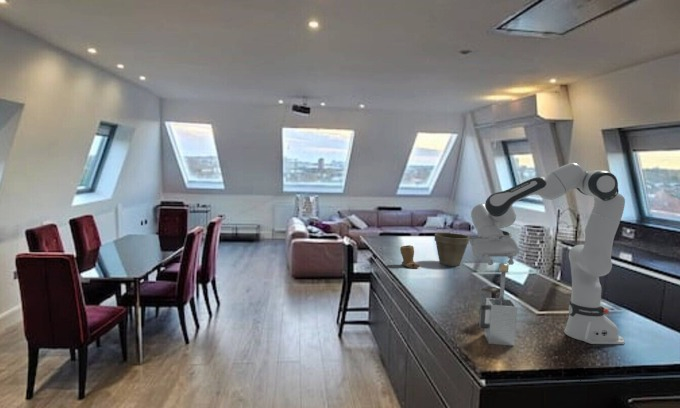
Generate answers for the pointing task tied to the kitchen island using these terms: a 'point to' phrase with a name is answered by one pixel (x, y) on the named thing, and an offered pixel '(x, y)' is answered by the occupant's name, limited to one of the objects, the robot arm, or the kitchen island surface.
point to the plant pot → (451, 247)
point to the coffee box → (488, 295)
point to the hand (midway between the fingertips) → (501, 264)
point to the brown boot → (408, 256)
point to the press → (499, 321)
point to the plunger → (502, 281)
